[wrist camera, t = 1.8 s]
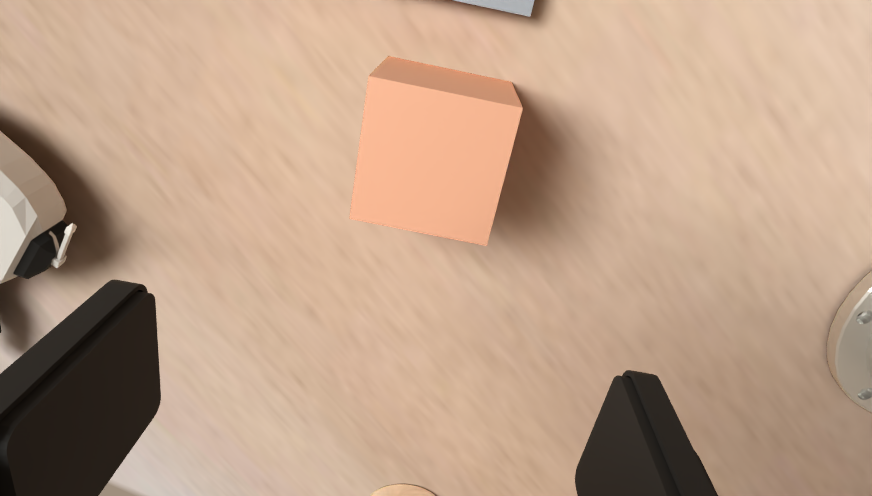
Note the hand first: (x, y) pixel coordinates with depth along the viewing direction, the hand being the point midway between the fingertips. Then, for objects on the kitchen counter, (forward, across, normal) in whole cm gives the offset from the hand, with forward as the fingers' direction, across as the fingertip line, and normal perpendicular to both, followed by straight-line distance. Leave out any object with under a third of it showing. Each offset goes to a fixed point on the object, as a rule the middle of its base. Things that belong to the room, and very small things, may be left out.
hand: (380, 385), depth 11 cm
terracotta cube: (+19, 0, -1) cm, 19 cm away
